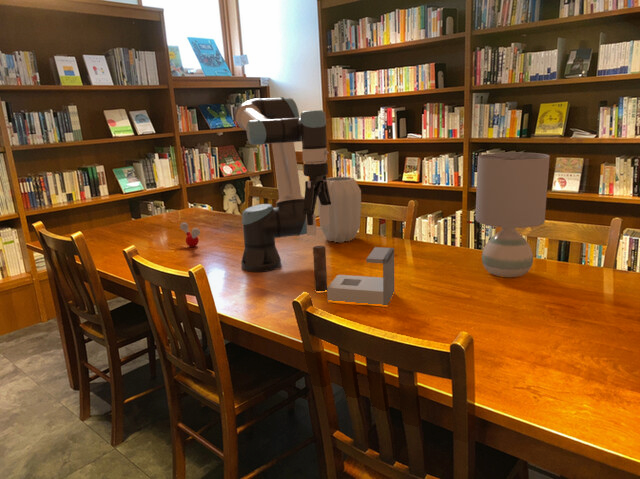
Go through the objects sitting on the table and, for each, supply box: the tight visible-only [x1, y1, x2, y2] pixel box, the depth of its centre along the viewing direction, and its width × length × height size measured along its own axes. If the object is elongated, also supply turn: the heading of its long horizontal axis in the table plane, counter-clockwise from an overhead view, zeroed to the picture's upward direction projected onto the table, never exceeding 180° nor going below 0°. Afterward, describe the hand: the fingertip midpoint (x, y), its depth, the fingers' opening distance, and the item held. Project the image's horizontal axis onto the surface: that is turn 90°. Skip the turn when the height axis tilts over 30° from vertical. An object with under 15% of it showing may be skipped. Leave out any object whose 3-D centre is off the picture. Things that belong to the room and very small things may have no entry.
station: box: [326, 246, 395, 305], centre depth 154 cm, size 19×12×15 cm, turn 72°
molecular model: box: [179, 222, 201, 248], centre depth 222 cm, size 18×6×10 cm, turn 41°
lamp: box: [474, 152, 551, 278], centre depth 166 cm, size 22×22×40 cm
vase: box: [316, 176, 362, 243], centre depth 221 cm, size 20×20×27 cm
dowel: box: [312, 245, 328, 291], centre depth 161 cm, size 4×4×15 cm
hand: (318, 229), depth 158 cm, fingers open, 13 cm apart
